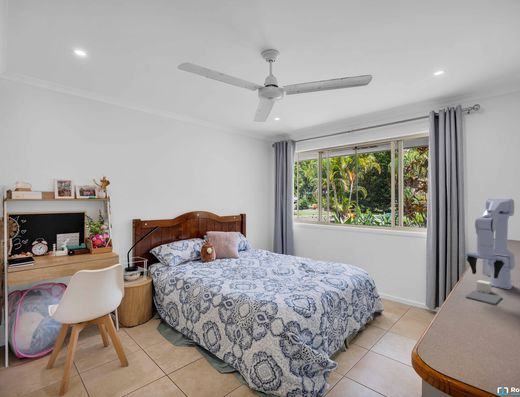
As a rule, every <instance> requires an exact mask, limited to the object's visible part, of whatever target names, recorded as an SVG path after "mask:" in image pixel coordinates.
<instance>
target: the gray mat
mask: <svg viewBox="0 0 520 397" xmlns="http://www.w3.org/2000/svg"><path fill="white" fill-rule="evenodd" d="M465 298H466V299H470V300H473V299H474V300H473V301H477V302H481V303H484V304H485V303H486V304H490V305H493V306H496V305H497V304H498V303H499V302H500V301H501V300H502V299H503V297H502V296H500V295H494V294H490V293H489V294H488V293H483V292H479V291H476V290H473V291H471V292H469V293H468V294H467V295H466V296H465Z"/></svg>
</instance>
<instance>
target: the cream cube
mask: <svg viewBox="0 0 520 397" xmlns="http://www.w3.org/2000/svg"><path fill="white" fill-rule="evenodd" d="M475 289H476V290H475V291H478V292H479V291H480V292H482V293H483V292H484V293H487V294H490V293H491V292H492V286H491V281H488V280H487V281H486V280H482V279H479V280H477V281H476V288H475Z"/></svg>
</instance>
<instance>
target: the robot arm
mask: <svg viewBox="0 0 520 397" xmlns="http://www.w3.org/2000/svg"><path fill="white" fill-rule="evenodd" d="M485 209H486V210H485V211H483V213H482V214H481V216H480V217H478V218H476V219H475V222H474V228H475V234H476V252H469V251H466V252H465V251H464V257H466V261H467V262H468V264H469V266H470V269H471V272H472V274H473V275H476V274H477V261H478V259H480V260H483V259H486V260H487V264H488V265H489V266H490V267H491V277H490V282H491V287H495V288H500V289H505V290H511V289H512V288H513V287H514V284H512V272H511V270H514V269H515V267H516V259H515V254H514V253H513V252H512V251H511V250H510V249H508V232H509V231H508V230H509V229H508V226H509V218H510V217H512V216H514V213H515V201H514V199H513V198H488V199H486V201H485Z"/></svg>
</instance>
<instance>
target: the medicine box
mask: <svg viewBox="0 0 520 397" xmlns="http://www.w3.org/2000/svg"><path fill="white" fill-rule="evenodd" d="M482 274H483V275H486V276H488V277H490V278H491V267H490V266H489V265H488V264H487V260H486V259H482Z"/></svg>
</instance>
